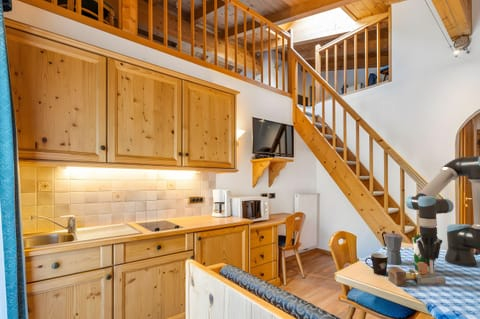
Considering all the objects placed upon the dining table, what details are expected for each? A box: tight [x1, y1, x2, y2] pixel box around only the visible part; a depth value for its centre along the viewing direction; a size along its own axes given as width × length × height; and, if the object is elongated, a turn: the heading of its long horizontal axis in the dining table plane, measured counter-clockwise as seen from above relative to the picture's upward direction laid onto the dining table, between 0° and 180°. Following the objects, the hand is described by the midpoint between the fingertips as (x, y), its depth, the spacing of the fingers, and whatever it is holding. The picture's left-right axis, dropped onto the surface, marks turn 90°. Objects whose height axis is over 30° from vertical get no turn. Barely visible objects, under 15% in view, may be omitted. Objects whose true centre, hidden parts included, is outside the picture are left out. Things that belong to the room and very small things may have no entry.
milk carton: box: [412, 234, 435, 273], centre depth 155 cm, size 9×9×20 cm
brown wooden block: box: [387, 266, 408, 287], centre depth 141 cm, size 5×7×7 cm
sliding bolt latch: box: [408, 268, 447, 286], centre depth 141 cm, size 14×7×6 cm, turn 90°
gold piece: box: [406, 262, 428, 282], centre depth 141 cm, size 16×4×9 cm, turn 90°
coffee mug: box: [364, 252, 388, 276], centre depth 155 cm, size 12×9×10 cm
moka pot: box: [381, 230, 404, 266], centre depth 171 cm, size 10×15×20 cm, turn 24°
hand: (430, 272), depth 141 cm, fingers closed
